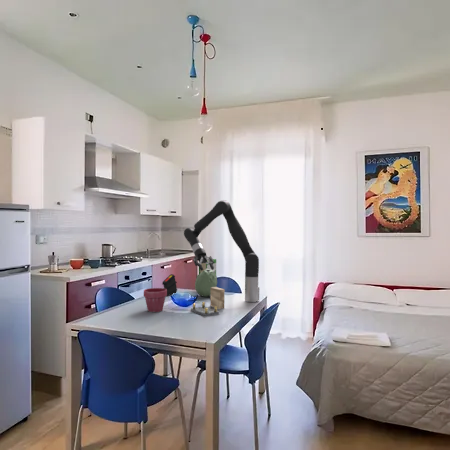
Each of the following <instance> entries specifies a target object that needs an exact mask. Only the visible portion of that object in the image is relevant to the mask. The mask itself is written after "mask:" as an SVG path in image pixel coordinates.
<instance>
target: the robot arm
mask: <svg viewBox="0 0 450 450" xmlns="http://www.w3.org/2000/svg"><path fill="white" fill-rule="evenodd" d="M222 215H223V217H224V219H225V221H226V225H227V229H228V231H229V235H231V238H232V239H233V241H234V242H235V244H236V245H237V247H238V249H240V251H241V254H242V256H243V257H244V262H245V265H244V266H245V267H244V268H245V270H244V272H245V273H244V302H247V303H257V302H259V301H260V286H259V273H260V271H259V270H260V269H259V268H260V265H259V264H260V260H259V256H258V255H257V254H256V253H255V251H254V250H253V248H252V246H251V245H250V242H249V240H248V239H249V238H248V237H247V235H246V233H245V231H244V229H243V227H242V225H241V223H240V222H239V220H238V218H237V217H236V215H235V213H234V211H233V208H232V206H231V204H230V202H229V201H228V200H224V199H223V200H219V201H218V202H216V204H215V205H214V206H213V207H212V208H211V210H210V211H208V212H207V213H206V214H205V215H204V216H202V217H201V218H200V219H199V220H198V221H197V222H195V223H194V225H193V227H194V229H193V228H190V227H187V228H185V229H184V230H183V236H184V238H185V239H186V241H187V242H188V243H189V245H190V246H191V247H190V248H191V250H192V252H193V254H194V257H193V259H192V260H193V264H194V265H195V267H198V269H199V268H200V270H201V271H202V270H203V267H202V265H201V263H206V264H209V265H210V267H211V269H212V270H213V269H214V266H213V264H214V261H213V259H214V258H213V257H212V256H211V255H210V256H207V252H206V250H205V248H204V246H203V245H202V244H201V243H202V242H201V241H200V239H199V238H198V237H199V235H200V234H201V233H202V232H203V230H206V228H208V226H209V225H211V223H212V222H213V221H214V220H215V219H217V218H218V217H219V216H222ZM207 261H208V262H207ZM258 300H259V301H258ZM256 301H257V302H256Z"/></svg>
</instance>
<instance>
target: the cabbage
mask: <svg viewBox="0 0 450 450" xmlns="http://www.w3.org/2000/svg"><path fill="white" fill-rule="evenodd" d="M215 273H216V274H215ZM194 281H195V283H194V289H195V291H196V293H197V294H198V295H200V296H201V297H204V298H205V297H211V287H218V286H217V285H218V276H217V271H216V272H215V271H214V270H213V271H212V270H209V269H205V270H204V271H203V272H202V273H200V274H199V273H198V274H197V275H196V279H195V280H194Z"/></svg>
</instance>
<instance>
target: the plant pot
mask: <svg viewBox="0 0 450 450" xmlns="http://www.w3.org/2000/svg"><path fill="white" fill-rule="evenodd" d="M143 297H144V298H145V299H144V300H145V305H146V309H147V312H150V313H159V312H162V311H163V310H164V306H165V302H166V301H165V300H166V297H168V296H167V289H164V287H152V288H146V289H144V290H143Z"/></svg>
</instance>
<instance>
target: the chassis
mask: <svg viewBox="0 0 450 450" xmlns="http://www.w3.org/2000/svg"><path fill="white" fill-rule="evenodd" d="M205 304H206V302H205V301H203V302H202V303H201V306H197V307H196V303H195V302H194V303H192V308H190V312H192V313H195V314H198V315H200V316H202V317H209V316H216V315H220V311H219V310H218V308H217V306H214V307H213V308H211V307H208V306H206V305H205Z"/></svg>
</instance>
